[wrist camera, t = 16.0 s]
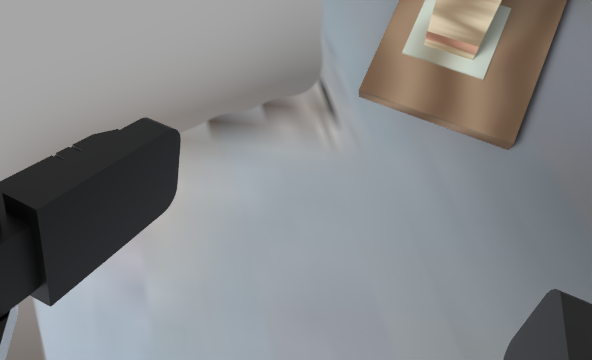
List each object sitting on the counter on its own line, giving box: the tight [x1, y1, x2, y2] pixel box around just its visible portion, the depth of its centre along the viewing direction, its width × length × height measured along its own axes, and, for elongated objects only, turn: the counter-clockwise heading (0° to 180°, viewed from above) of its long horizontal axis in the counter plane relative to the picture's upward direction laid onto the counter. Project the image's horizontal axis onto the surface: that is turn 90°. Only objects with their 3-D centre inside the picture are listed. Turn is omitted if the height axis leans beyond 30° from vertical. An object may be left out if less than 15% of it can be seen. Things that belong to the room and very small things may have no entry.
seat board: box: [359, 0, 567, 150], centre depth 43 cm, size 14×21×2 cm, turn 156°
